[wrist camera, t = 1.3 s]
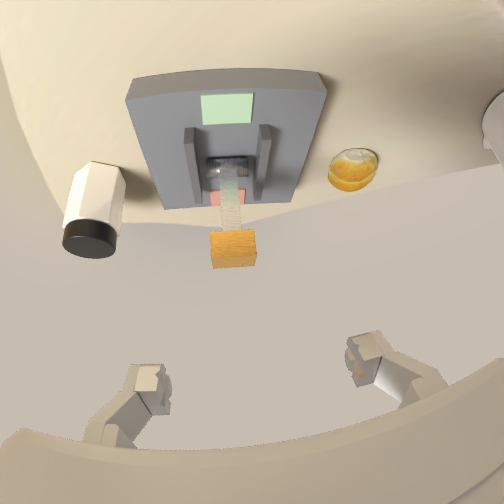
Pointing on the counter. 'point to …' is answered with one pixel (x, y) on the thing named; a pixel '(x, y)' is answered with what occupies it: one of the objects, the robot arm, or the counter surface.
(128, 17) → the counter surface
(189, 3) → the counter surface
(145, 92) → the switch panel
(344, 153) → the bread roll
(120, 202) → the jar
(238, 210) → the breaker lever
